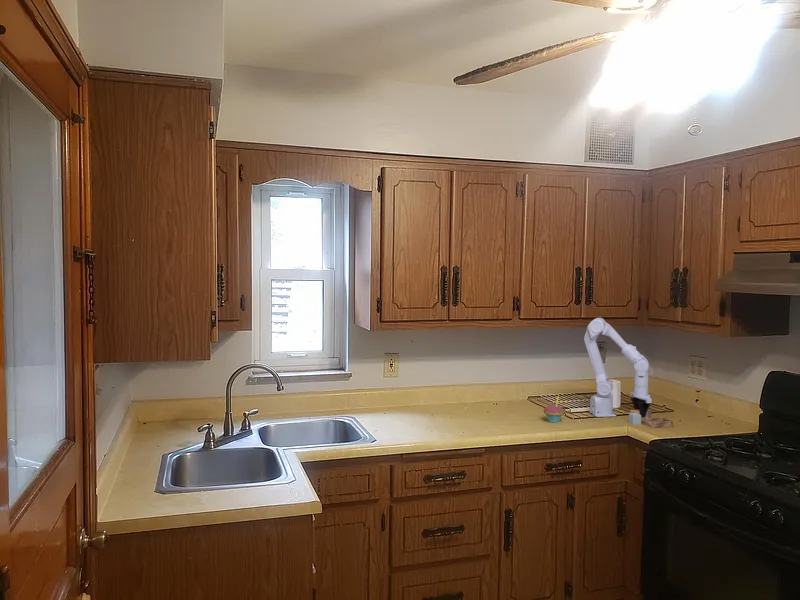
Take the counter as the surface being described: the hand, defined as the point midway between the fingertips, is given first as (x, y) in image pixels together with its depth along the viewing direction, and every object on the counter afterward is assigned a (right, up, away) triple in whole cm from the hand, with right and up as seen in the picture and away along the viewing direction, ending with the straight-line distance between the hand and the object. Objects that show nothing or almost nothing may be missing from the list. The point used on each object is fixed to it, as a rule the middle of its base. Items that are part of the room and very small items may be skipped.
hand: (640, 415), depth 262 cm
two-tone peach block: (0, -1, 0) cm, 1 cm away
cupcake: (-40, -2, -4) cm, 40 cm away
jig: (+3, -2, -10) cm, 11 cm away
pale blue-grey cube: (-5, -2, -7) cm, 9 cm away
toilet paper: (-6, 0, +24) cm, 24 cm away
